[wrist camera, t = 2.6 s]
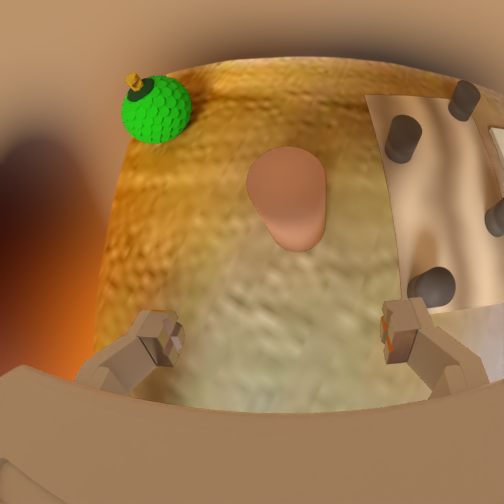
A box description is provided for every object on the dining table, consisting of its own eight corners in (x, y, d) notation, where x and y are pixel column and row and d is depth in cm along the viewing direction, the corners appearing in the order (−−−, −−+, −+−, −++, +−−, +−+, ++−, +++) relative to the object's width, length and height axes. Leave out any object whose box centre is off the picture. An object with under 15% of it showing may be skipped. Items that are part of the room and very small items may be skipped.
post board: (463, 104, 25) (475, 79, 21) (515, 300, 20) (542, 294, 15) (363, 98, 28) (366, 69, 24) (400, 317, 23) (417, 316, 18)
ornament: (178, 96, 34) (143, 45, 24) (215, 120, 31) (181, 60, 22) (134, 138, 34) (89, 94, 24) (165, 168, 31) (115, 119, 22)
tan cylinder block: (322, 197, 26) (320, 143, 18) (327, 249, 25) (330, 213, 17) (269, 202, 27) (246, 151, 19) (271, 253, 26) (246, 220, 18)
